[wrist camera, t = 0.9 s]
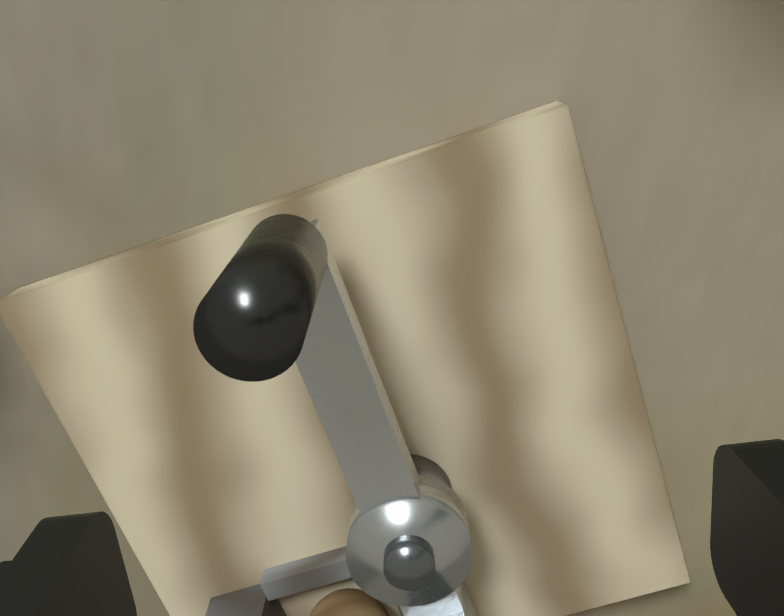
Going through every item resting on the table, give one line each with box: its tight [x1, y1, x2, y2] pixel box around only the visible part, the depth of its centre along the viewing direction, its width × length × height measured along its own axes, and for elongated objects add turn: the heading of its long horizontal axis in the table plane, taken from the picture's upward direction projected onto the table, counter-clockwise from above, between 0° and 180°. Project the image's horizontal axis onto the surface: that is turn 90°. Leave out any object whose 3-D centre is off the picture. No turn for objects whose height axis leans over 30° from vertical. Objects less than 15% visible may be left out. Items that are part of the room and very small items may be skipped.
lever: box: [193, 214, 477, 616], centre depth 26 cm, size 5×21×10 cm, turn 19°
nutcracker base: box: [0, 101, 690, 616], centre depth 31 cm, size 24×23×7 cm
